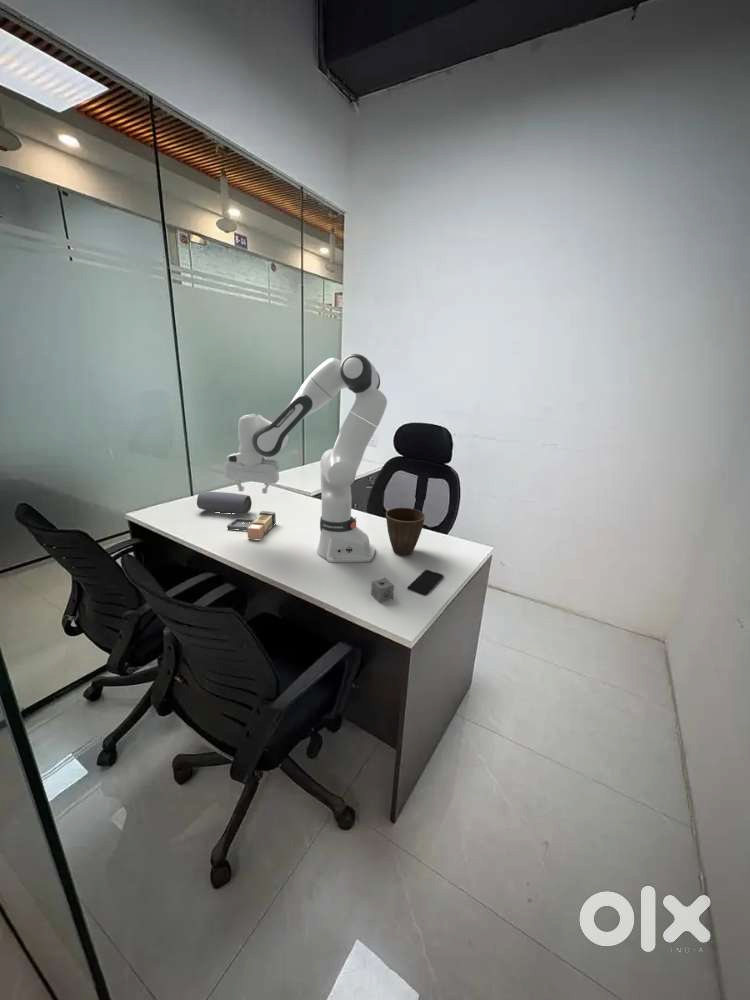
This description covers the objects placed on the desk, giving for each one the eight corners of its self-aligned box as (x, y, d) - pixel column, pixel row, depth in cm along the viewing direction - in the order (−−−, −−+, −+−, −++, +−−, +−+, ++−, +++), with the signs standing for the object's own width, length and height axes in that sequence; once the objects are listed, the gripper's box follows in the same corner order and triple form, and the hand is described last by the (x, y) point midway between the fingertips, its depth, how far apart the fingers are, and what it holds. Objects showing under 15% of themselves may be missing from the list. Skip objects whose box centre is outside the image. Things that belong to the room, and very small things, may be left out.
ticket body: (275, 523, 164) (275, 511, 162) (266, 534, 152) (265, 521, 151) (261, 522, 164) (261, 510, 162) (251, 533, 153) (250, 520, 151)
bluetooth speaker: (252, 511, 177) (251, 491, 174) (244, 518, 168) (243, 497, 165) (207, 507, 178) (205, 487, 175) (197, 514, 170) (194, 493, 166)
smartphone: (405, 588, 119) (425, 568, 131) (405, 591, 119) (425, 571, 131) (426, 596, 115) (444, 575, 127) (426, 599, 116) (444, 578, 128)
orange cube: (263, 536, 151) (263, 525, 150) (260, 540, 147) (259, 528, 146) (251, 535, 151) (251, 524, 150) (247, 539, 148) (247, 527, 146)
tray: (256, 523, 163) (255, 519, 163) (248, 531, 155) (247, 527, 154) (236, 521, 164) (236, 518, 163) (227, 529, 155) (227, 525, 155)
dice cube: (371, 595, 115) (371, 581, 113) (384, 591, 118) (385, 577, 116) (379, 603, 111) (380, 589, 109) (392, 599, 114) (394, 585, 112)
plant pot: (389, 562, 136) (393, 522, 131) (378, 544, 149) (381, 508, 144) (427, 559, 140) (431, 520, 135) (413, 542, 153) (416, 506, 148)
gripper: (281, 457, 141) (281, 491, 145) (229, 453, 142) (231, 487, 147) (275, 461, 135) (276, 496, 140) (222, 456, 136) (224, 492, 141)
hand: (253, 491), depth 143 cm, fingers open, 8 cm apart
